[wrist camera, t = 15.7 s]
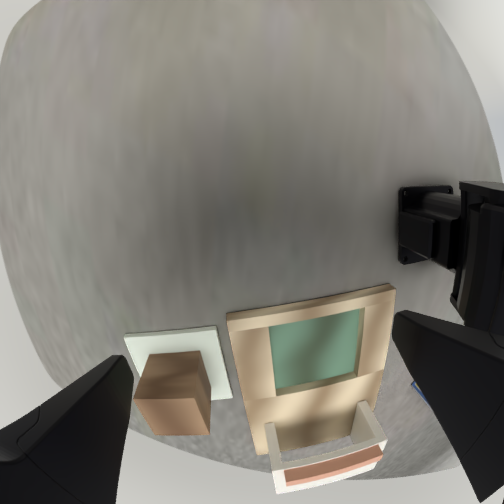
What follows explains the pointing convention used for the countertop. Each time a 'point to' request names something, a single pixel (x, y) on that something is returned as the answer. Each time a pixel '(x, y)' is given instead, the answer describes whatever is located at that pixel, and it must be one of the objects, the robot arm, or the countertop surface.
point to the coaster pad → (182, 342)
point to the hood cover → (330, 456)
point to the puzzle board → (311, 364)
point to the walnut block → (175, 394)
